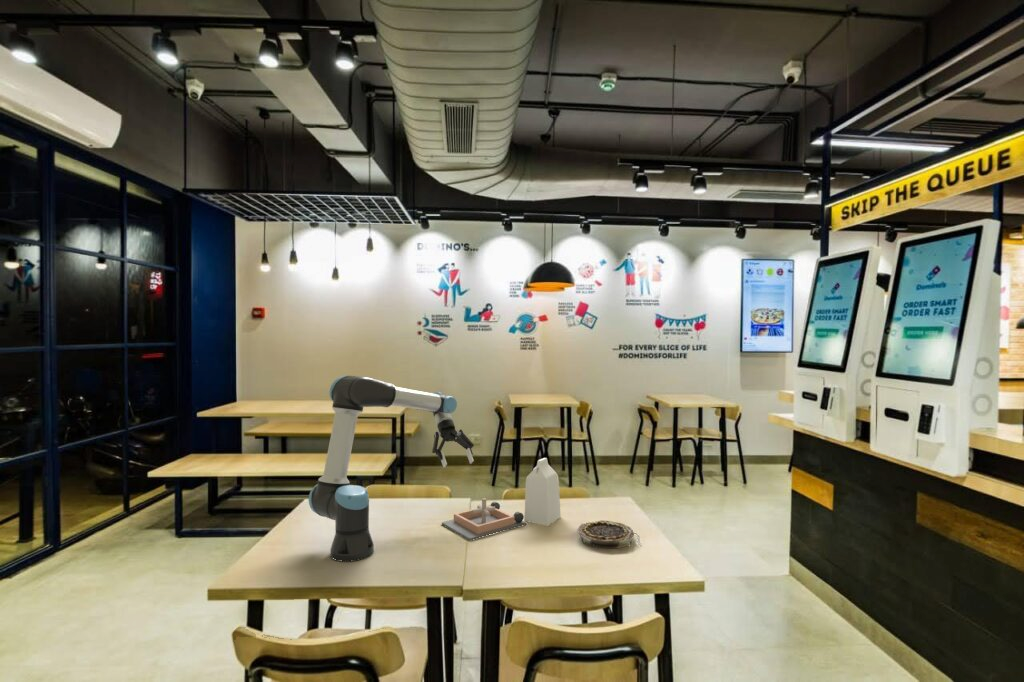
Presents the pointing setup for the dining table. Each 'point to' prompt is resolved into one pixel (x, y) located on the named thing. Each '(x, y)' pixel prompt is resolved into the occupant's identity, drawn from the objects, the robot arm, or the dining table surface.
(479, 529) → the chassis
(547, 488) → the milk
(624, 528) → the pie
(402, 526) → the dining table surface
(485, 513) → the pipe connector
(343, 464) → the robot arm
